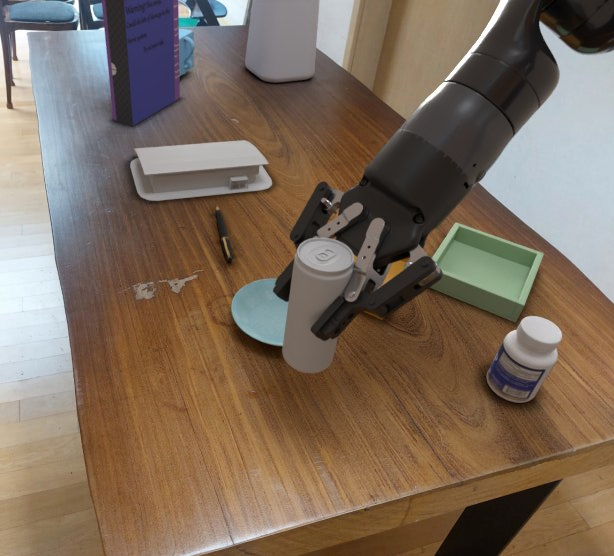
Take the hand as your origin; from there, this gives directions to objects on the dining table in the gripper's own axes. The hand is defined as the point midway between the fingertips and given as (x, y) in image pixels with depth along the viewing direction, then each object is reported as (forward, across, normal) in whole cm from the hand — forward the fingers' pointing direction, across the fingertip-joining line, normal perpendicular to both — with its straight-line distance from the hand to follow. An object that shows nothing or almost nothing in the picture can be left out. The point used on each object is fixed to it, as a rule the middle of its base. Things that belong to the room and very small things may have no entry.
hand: (298, 315), depth 46 cm
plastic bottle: (-31, -87, +52) cm, 106 cm away
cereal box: (-4, -78, +24) cm, 82 cm away
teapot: (-12, -96, +32) cm, 102 cm away
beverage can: (+3, 0, +6) cm, 7 cm away
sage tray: (-16, -6, +38) cm, 41 cm away
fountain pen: (+3, -31, +18) cm, 36 cm away
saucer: (+5, -12, +16) cm, 21 cm away
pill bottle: (-7, +8, +28) cm, 31 cm away
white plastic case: (-2, -49, +22) cm, 54 cm away
